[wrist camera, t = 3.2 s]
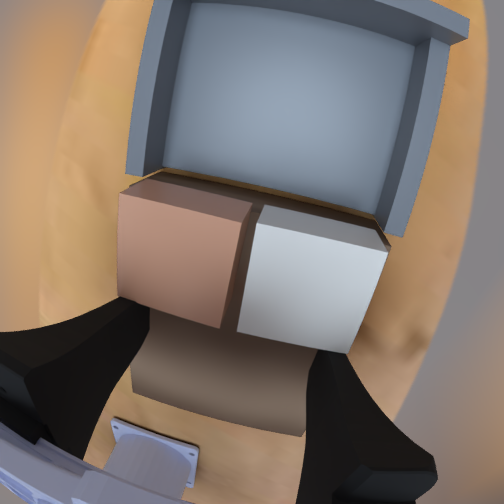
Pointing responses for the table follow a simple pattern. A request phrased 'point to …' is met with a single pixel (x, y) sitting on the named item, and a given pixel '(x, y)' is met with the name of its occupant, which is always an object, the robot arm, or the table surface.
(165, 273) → the tile terracotta
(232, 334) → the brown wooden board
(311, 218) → the tile cream
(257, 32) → the tray
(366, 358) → the table surface
